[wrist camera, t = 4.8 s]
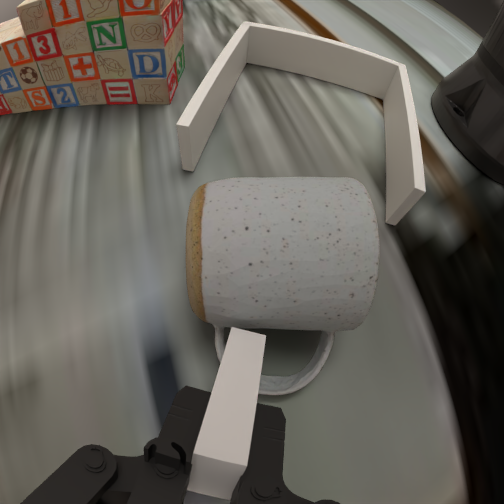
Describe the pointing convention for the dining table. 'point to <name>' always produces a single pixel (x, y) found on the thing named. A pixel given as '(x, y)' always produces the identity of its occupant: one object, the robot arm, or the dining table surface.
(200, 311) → the ceramic mug
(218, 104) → the white u-shaped bracket
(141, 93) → the stack of blocks
